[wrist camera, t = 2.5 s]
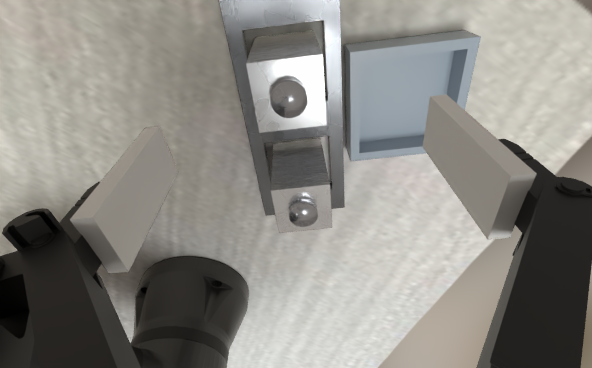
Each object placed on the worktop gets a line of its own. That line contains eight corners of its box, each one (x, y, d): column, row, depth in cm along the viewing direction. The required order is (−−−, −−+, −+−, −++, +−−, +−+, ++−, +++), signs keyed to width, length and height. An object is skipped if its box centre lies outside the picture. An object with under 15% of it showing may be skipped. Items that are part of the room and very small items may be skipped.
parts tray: (346, 147, 32) (350, 161, 30) (344, 44, 27) (350, 52, 24) (444, 136, 32) (455, 149, 30) (464, 30, 26) (480, 36, 24)
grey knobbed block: (279, 181, 35) (278, 239, 28) (273, 143, 32) (270, 196, 25) (322, 177, 35) (333, 234, 27) (320, 138, 32) (331, 190, 25)
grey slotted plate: (342, 200, 36) (344, 207, 36) (266, 208, 37) (265, 215, 36) (336, -26, 24) (339, -25, 23) (219, -10, 24) (216, -9, 23)
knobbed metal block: (264, 93, 29) (258, 138, 22) (255, 37, 26) (244, 67, 19) (316, 87, 29) (328, 130, 22) (312, 30, 26) (324, 57, 19)
